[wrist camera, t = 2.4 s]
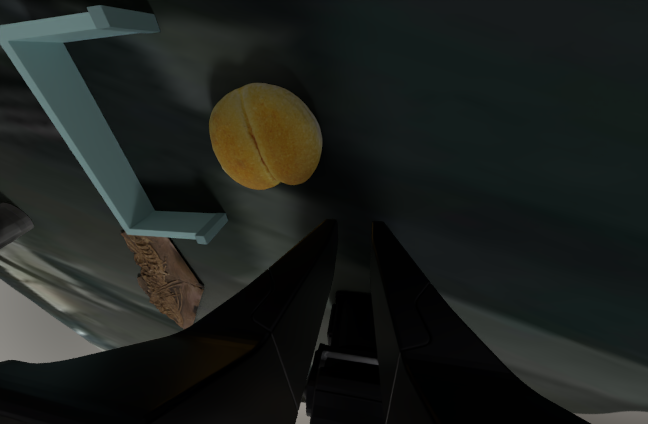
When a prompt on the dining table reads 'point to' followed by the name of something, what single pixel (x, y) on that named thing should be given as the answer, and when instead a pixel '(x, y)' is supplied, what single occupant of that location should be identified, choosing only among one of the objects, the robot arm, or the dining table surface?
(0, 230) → the beverage cup
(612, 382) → the dining table surface
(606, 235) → the dining table surface
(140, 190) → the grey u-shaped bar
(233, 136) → the bread roll
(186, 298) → the brown carved slab
